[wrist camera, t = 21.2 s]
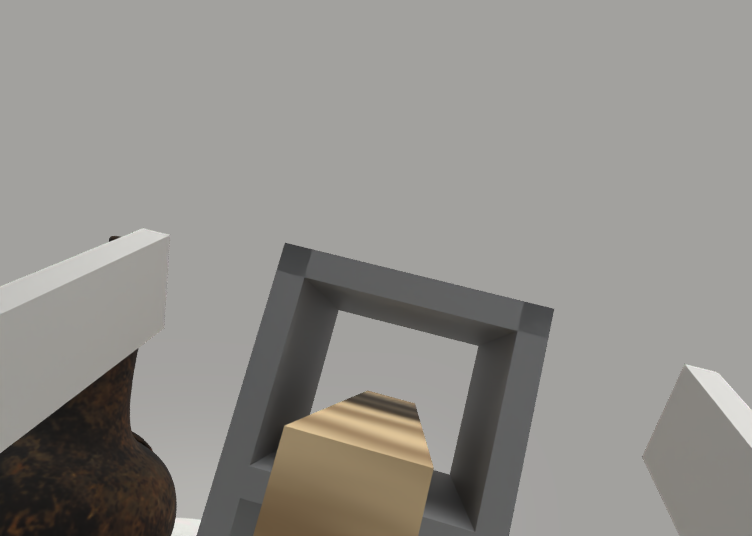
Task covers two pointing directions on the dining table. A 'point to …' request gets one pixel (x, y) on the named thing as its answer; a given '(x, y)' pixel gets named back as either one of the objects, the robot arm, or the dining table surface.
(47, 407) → the robot arm
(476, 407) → the shelf
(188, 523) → the dining table surface
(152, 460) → the glass bottle
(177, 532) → the dining table surface
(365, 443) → the wooden bar
